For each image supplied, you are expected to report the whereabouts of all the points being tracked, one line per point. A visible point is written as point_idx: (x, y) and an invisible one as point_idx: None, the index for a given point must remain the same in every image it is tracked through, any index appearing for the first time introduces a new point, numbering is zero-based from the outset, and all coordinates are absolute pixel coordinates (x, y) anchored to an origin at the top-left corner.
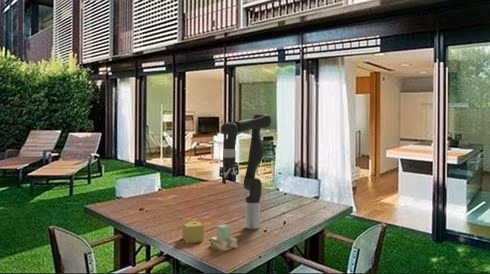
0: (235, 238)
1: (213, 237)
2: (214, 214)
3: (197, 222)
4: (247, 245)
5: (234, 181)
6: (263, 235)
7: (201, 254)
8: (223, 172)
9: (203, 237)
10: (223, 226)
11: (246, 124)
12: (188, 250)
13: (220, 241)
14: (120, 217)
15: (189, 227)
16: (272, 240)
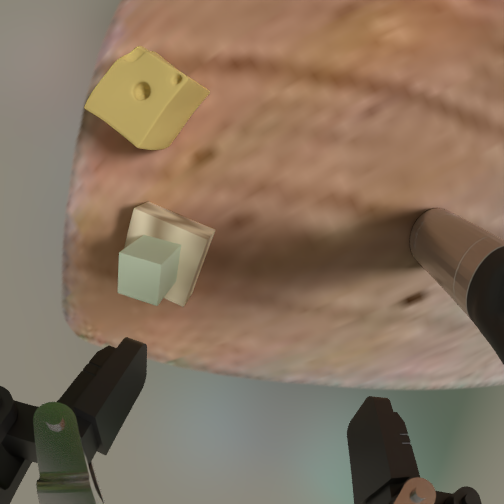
0: (185, 297)
1: (143, 216)
2: (495, 22)
3: (163, 90)
4: (227, 313)
5: (351, 428)
6: (357, 317)
7: (82, 224)
8: (4, 500)
9: (164, 148)
10: (133, 280)
11: None
12: (82, 166)
13: None
14: None
15: (94, 114)
16: (317, 359)
